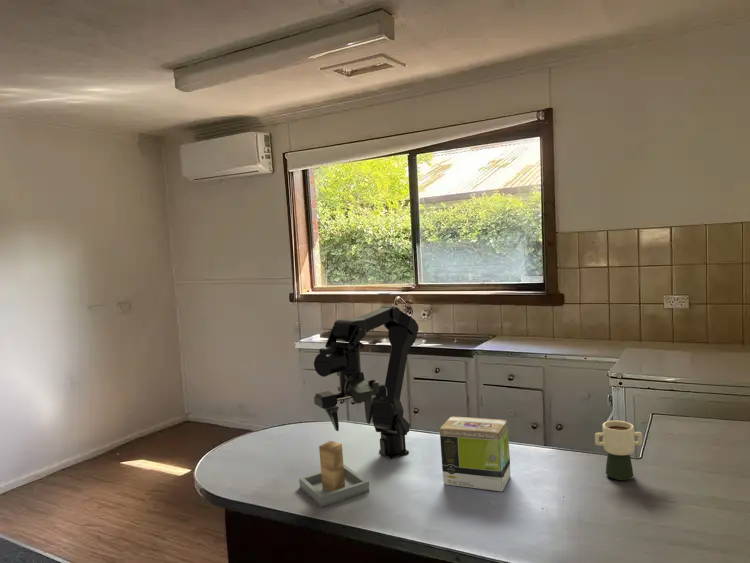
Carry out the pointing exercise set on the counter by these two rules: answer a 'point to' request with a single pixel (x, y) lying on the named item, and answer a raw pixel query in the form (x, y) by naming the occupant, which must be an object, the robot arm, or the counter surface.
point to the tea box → (475, 453)
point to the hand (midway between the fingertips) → (353, 427)
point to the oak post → (332, 466)
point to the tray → (324, 497)
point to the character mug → (618, 448)
